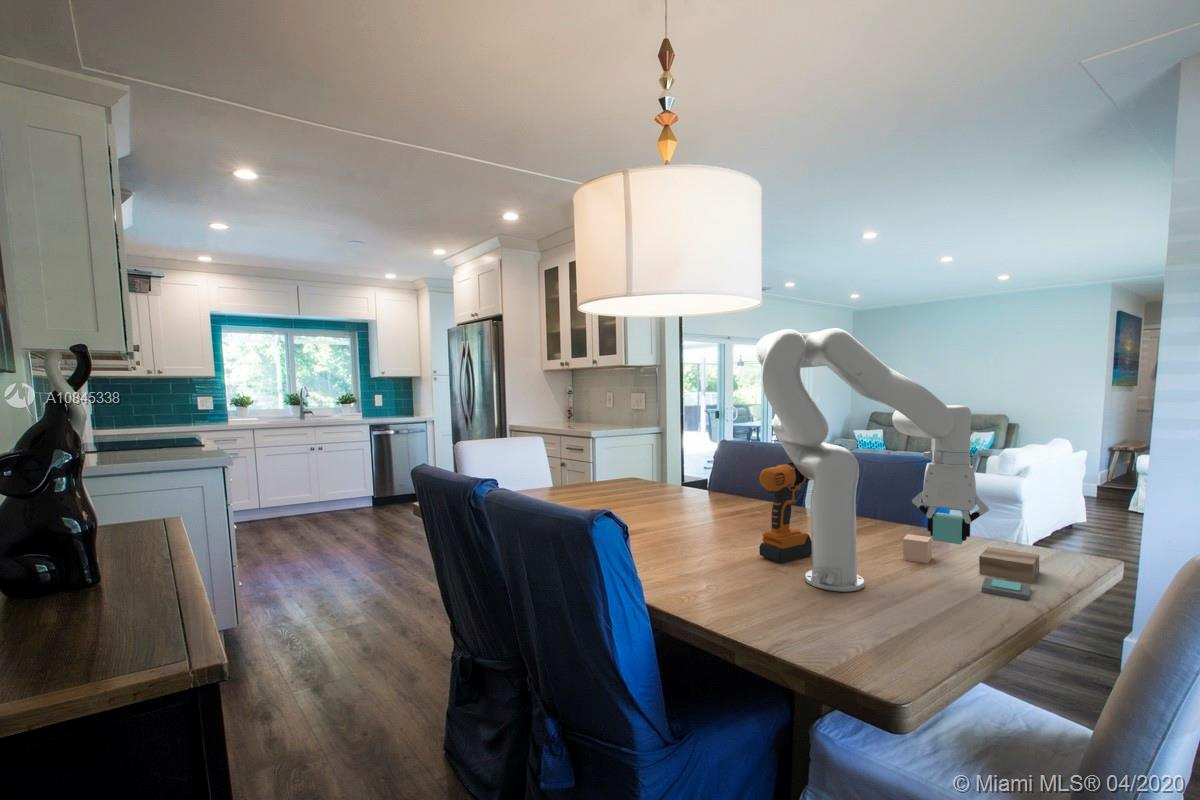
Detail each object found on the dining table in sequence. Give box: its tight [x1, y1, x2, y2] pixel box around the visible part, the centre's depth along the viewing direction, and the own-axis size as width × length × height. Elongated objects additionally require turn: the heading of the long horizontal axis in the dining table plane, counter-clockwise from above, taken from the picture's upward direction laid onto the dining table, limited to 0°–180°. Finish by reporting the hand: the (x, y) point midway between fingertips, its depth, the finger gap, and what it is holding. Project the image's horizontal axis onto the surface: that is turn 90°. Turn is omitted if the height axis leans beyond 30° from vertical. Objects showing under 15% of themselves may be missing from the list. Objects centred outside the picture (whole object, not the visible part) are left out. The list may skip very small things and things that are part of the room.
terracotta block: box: [902, 533, 933, 564], centre depth 141 cm, size 6×6×6 cm
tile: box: [981, 576, 1031, 601], centre depth 118 cm, size 8×8×1 cm
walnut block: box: [978, 546, 1040, 584], centre depth 129 cm, size 10×10×4 cm
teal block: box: [932, 512, 964, 545], centre depth 126 cm, size 6×6×6 cm
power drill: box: [758, 462, 812, 564], centre depth 146 cm, size 22×7×25 cm, turn 122°
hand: (948, 536), depth 126 cm, fingers closed on teal block, 5 cm apart
